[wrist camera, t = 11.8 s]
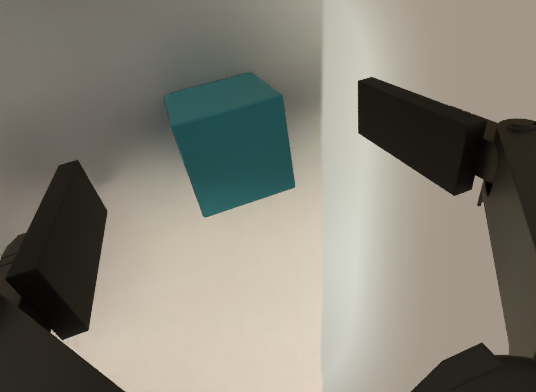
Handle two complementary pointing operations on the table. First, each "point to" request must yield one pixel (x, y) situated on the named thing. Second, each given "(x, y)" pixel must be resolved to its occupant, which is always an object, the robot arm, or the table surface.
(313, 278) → the table surface
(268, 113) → the cube
